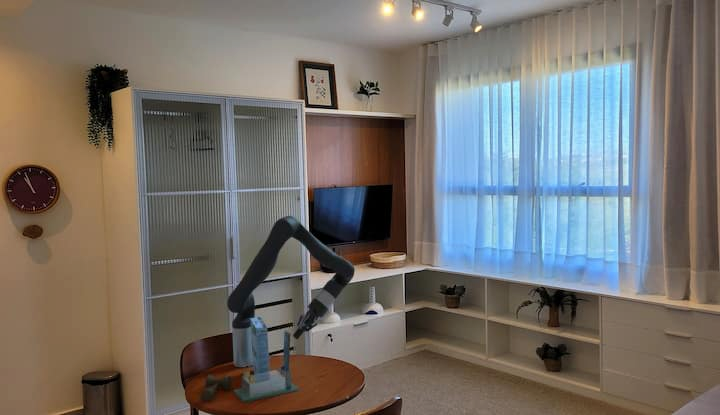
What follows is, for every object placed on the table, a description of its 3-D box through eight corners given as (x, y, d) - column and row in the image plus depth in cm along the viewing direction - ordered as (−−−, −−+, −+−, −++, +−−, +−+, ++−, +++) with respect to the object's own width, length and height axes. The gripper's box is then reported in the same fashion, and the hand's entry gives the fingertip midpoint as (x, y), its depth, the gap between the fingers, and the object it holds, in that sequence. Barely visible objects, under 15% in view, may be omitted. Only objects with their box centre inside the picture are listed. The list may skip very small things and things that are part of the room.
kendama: (193, 404, 210) (213, 383, 230) (219, 405, 209) (236, 384, 229) (193, 388, 209) (212, 369, 229) (218, 389, 208) (235, 370, 228)
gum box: (270, 383, 228) (267, 326, 227) (257, 384, 227) (255, 328, 226) (264, 368, 247) (261, 316, 246) (252, 370, 245) (249, 318, 244)
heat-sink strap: (284, 331, 224) (286, 331, 225) (282, 370, 224) (285, 370, 225) (288, 333, 221) (290, 333, 221) (286, 373, 221) (289, 373, 221)
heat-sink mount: (233, 392, 219) (232, 371, 219) (286, 380, 230) (285, 360, 230) (243, 402, 208) (242, 380, 208) (299, 390, 218) (298, 369, 218)
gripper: (308, 295, 234) (282, 328, 229) (322, 300, 223) (294, 335, 217) (320, 306, 237) (295, 339, 231) (334, 311, 225) (307, 347, 220)
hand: (294, 337), depth 224 cm, fingers closed
